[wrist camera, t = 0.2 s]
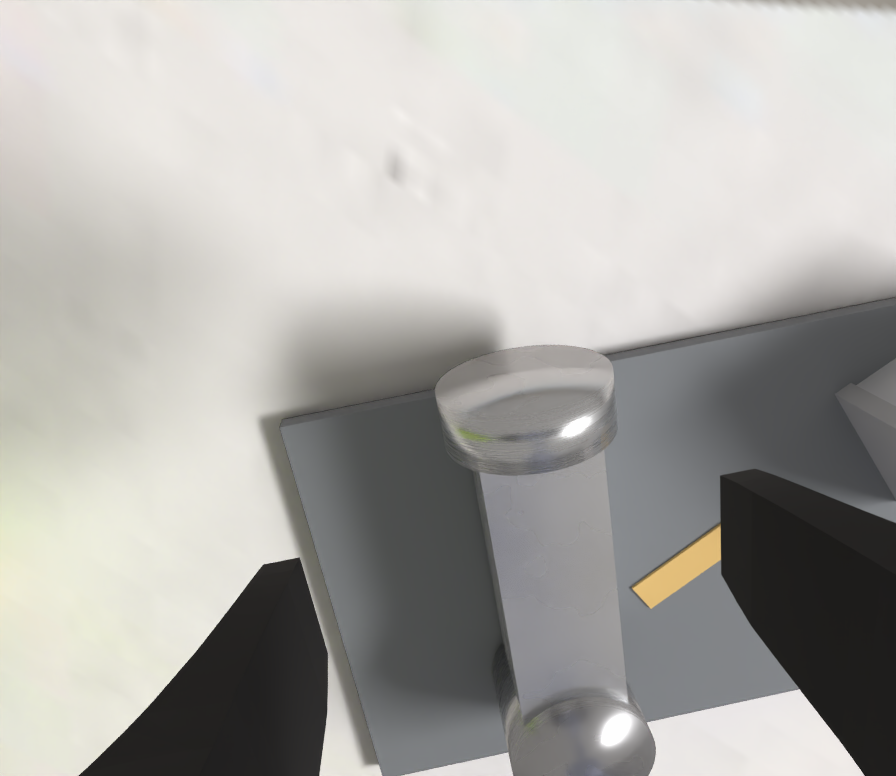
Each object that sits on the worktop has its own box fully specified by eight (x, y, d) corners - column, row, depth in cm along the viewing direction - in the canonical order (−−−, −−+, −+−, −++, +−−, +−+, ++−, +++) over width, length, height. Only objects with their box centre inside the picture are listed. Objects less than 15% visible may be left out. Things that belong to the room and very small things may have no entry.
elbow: (619, 696, 25) (670, 814, 20) (498, 723, 25) (524, 847, 20) (583, 333, 19) (641, 391, 15) (428, 364, 19) (443, 430, 15)
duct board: (997, 632, 27) (1154, 759, 21) (383, 765, 26) (385, 931, 20) (1061, 264, 21) (1296, 309, 16) (282, 419, 20) (248, 523, 15)
